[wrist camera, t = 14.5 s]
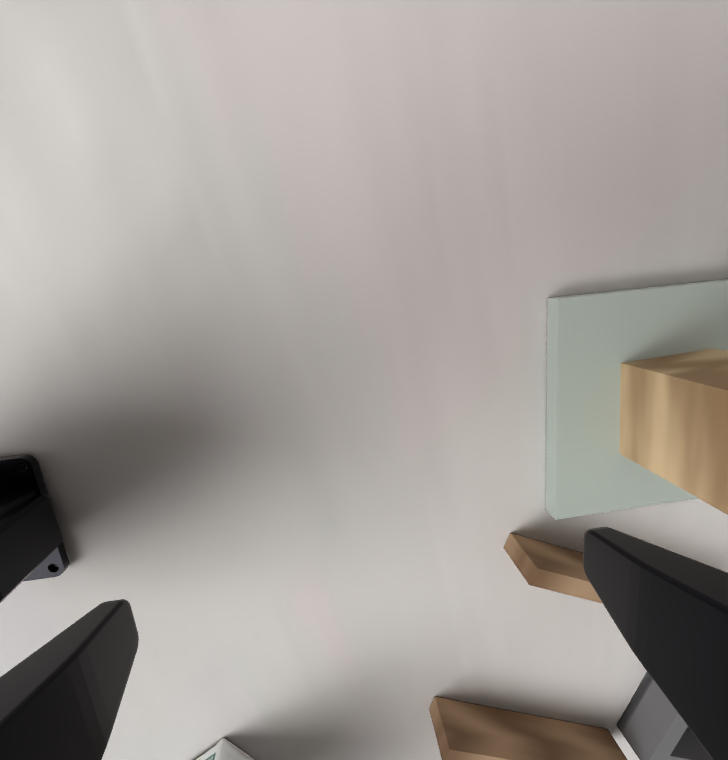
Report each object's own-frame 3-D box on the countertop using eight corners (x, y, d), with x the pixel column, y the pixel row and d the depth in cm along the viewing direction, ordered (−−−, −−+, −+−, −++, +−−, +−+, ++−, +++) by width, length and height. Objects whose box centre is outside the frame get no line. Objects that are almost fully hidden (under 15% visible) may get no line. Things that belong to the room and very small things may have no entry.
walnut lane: (429, 709, 26) (442, 763, 23) (510, 533, 23) (537, 568, 20) (601, 740, 28) (634, 793, 25) (691, 582, 25) (739, 620, 23)
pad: (545, 510, 23) (555, 520, 22) (547, 298, 20) (558, 298, 19) (737, 481, 24) (755, 490, 23) (765, 274, 21) (786, 274, 20)
